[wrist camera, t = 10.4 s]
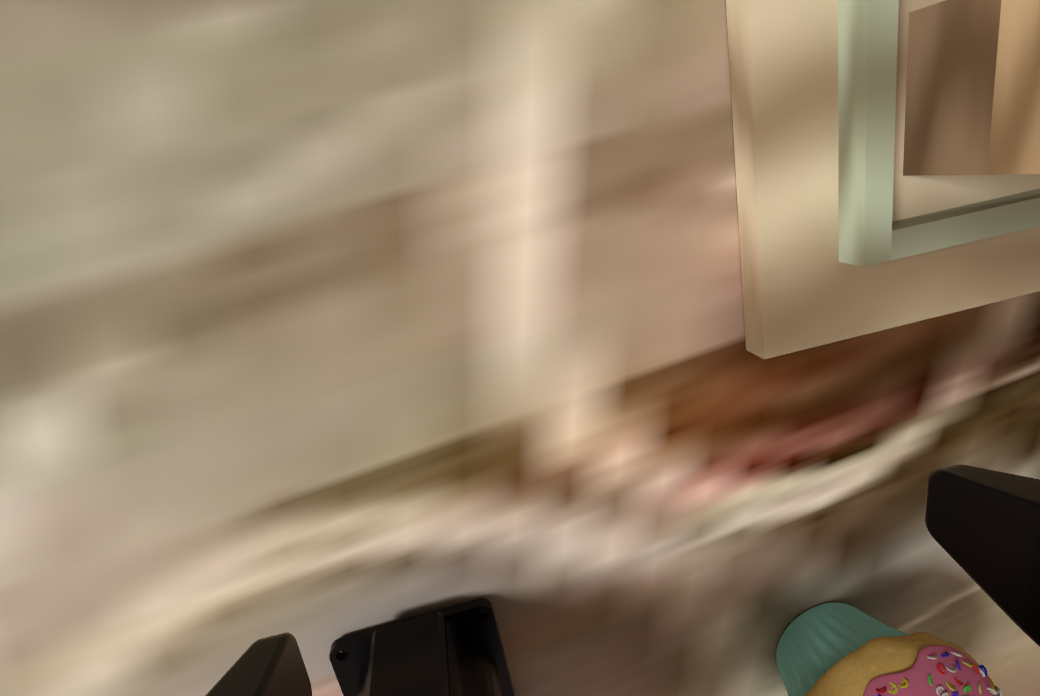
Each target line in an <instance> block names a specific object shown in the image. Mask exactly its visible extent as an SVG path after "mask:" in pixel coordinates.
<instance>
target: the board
mask: <svg viewBox="0 0 1040 696" xmlns="http://www.w3.org/2000/svg"><path fill="white" fill-rule="evenodd" d="M942 1H945V0H726V9H727V26H728V44H729V61H730V79H731V96H732V114H733V131H734V149H735V166H736V184H737V201H738V219H739V236H740V254H741V271H742V289H743V306H744V324H745V341H746V350H747V351H749V352H751V353H753V354H755V355H757V356H759V357H761V358H763V359H768V358H772V357H776V356H780V355H784V354H788V353H792V352H796V351H800V350H804V349H808V348H812V347H816V346H821V345H825V344H829V343H833V342H837V341H841V340H845V339H849V338H853V337H857V336H861V335H865V334H869V333H873V332H877V331H881V330H885V329H889V328H893V327H897V326H901V325H905V324H909V323H914V322H918V321H922V320H926V319H930V318H934V317H938V316H942V315H946V314H950V313H954V312H958V311H962V310H966V309H970V308H974V307H978V306H982V305H986V304H990V303H994V302H998V301H1003V300H1007V299H1011V298H1015V297H1019V296H1023V295H1027V294H1031V293H1035V292H1039V291H1040V174H1013V175H913V176H903V159H904V132H905V105H906V78H907V51H908V23H909V13H910V12H913V11H916V10H919V9H922V8H925V7H927V6H930V5H933V4H936V3H939V2H942Z"/></svg>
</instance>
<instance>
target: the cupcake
mask: <svg viewBox="0 0 1040 696" xmlns="http://www.w3.org/2000/svg"><path fill="white" fill-rule="evenodd" d="M776 662H777V666H778V669H779V671H780V674H781V676H782V679H783V682H784V684H785V687H786V690H787V692H788V695H789V696H1002V693H1001V691H1000V689H999V688H998V687H997V686H995V685H994V684H993V682H992V681H991V679H990V678H989V676H988V675H987V670H986V668H985V667H984V666H983V665H980V666H979V664H978V663H977V662H976V661H975V660H974V659H973V658H972V657H971V656H970V655H969V654H967V653H966V652H965V651H964V650H963V649H961V648H960V647H958V646H957V645H955V644H953V643H950V642H946V641H943V640H941V639H939V638H937V637H935V636H934V635H932V634H929V633H925V632H919V633H915V634H912V635H907V634H905V633H903V632H900V631H898V630H896V629H894V628H892V627H890V626H888V625H886V624H884V623H882V622H880V621H878V620H876V619H874V618H872V617H871V616H869V615H867V614H865V613H863V612H862V611H860V610H858V609H857V608H855V607H853V606H851V605H848V604H845V603H836V602H834V603H825V604H821V605H818V606H815V607H813V608H811V609H809V610H807V611H805V612H804V613H802V614H801V615H799V616H798V617H797V618H796V619H795V620H793V621H792V622H791V623H790V625H789V626H788V627H787V628H786V630H785V631H784V632H783V634H782V636H781V638H780V640H779V643H778V646H777V650H776ZM982 668H983V669H984V670H983V669H982ZM996 689H997V690H996Z"/></svg>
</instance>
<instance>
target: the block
mask: <svg viewBox="0 0 1040 696" xmlns="http://www.w3.org/2000/svg"><path fill="white" fill-rule="evenodd" d="M1013 174H1040V0H945V1H942V2H939V3H936V4H933V5H930V6H927V7H925V8H922V9H919V10H916V11H913V12H910V13H909V23H908V51H907V78H906V105H905V132H904V159H903V176H913V175H1013Z"/></svg>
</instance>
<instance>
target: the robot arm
mask: <svg viewBox="0 0 1040 696" xmlns="http://www.w3.org/2000/svg"><path fill="white" fill-rule="evenodd" d="M925 523H926V526H927V529H928V531H929V532H930V534H931V536H932V537H933V538H934V539H935V540H936V541H937V542H938V543H939V544H940V545H941V547H942V548H943V549H944V550H945V551H946V552H947V553H948V554H949V555H950V556H951V557H952V558H953V559H954V560H955V561H956V562H957V563H958V564H959V565H960V566H961V567H962V568H963V570H964V571H965V572H966V573H967V574H968V575H969V576H970V577H971V578H972V579H973V580H974V581H975V582H976V583H977V584H978V585H979V586H980V587H981V588H982V589H983V590H984V591H985V593H986V594H987V595H988V596H989V597H990V598H991V599H992V600H993V601H994V602H995V603H996V604H997V605H998V606H999V607H1000V608H1001V609H1002V610H1003V611H1004V612H1005V613H1006V614H1007V615H1008V616H1009V617H1010V618H1011V619H1012V620H1013V621H1014V622H1015V623H1016V625H1017V626H1018V627H1019V628H1020V629H1021V630H1022V631H1024V632H1025V633H1026V634H1027V635H1028V636H1029V637H1030V638H1031V639H1032V640H1033V641H1034V642H1035V643H1036V644H1037V645H1039V646H1040V480H1039V479H1034V478H1029V477H1024V476H1019V475H1014V474H1008V473H1003V472H998V471H993V470H988V469H983V468H978V467H973V466H968V465H954V466H950V467H946V468H942V469H938V470H935V471H933V472H932V473H931V474H930V476H929V478H928V482H927V495H926V508H925ZM480 611H484V612H485V613H483V614H476V613H478V612H480ZM344 650H345V651H347V652H346V653H341V652H340V651H344ZM329 656H330V661H331V664H332V666H333V669H334V672H335V674H336V677H337V680H338V682H339V685H340V687H341V690H342V693H343V695H344V696H515V694H514V690H513V686H512V682H511V678H510V674H509V670H508V666H507V662H506V658H505V654H504V650H503V646H502V643H501V639H500V635H499V631H498V627H497V623H496V619H495V615H494V611H493V607H492V604H491V602H489V601H488V600H486V599H477V600H474V601H470V602H467V603H463V604H459V605H456V606H452V607H449V608H445V609H442V610H438V611H435V612H431V613H427V614H424V615H420V616H417V617H413V618H410V619H406V620H403V621H399V622H395V623H392V624H388V625H385V626H381V627H378V628H374V629H371V630H367V631H363V632H360V633H356V634H353V635H349V636H346V637H342V638H339V639H337V640H335V641H334V642H333V643H332V646H331V650H330V655H329ZM206 696H312V690H311V684H310V680H309V677H308V674H307V671H306V668H305V665H304V662H303V659H302V656H301V653H300V650H299V647H298V644H297V641H296V639H295V638H294V636H293V635H292V634H290V633H282V634H278V635H274V636H270V637H266V638H262V639H259V640H257V641H256V642H254V643H253V644H252V645H251V646H250V647H249V648H248V650H247V651H246V652H245V653H244V654H243V655H242V656H241V657H240V658H239V659H238V661H237V662H236V663H235V664H234V665H233V666H232V667H231V668H230V669H229V670H228V671H227V673H226V674H225V675H224V676H223V677H222V678H221V679H220V680H219V681H218V682H217V684H216V685H215V686H214V687H213V688H212V689H211V690H210V691H209V692H208V693H207V694H206Z"/></svg>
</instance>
